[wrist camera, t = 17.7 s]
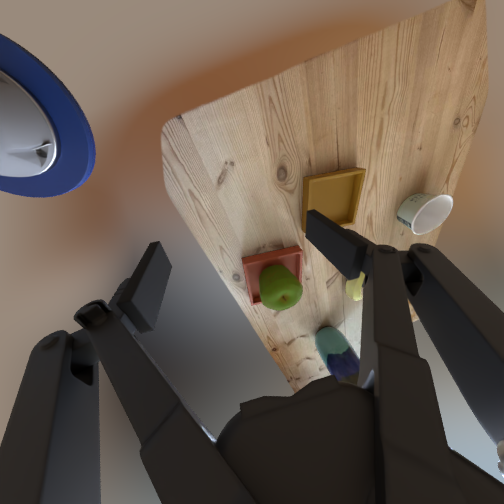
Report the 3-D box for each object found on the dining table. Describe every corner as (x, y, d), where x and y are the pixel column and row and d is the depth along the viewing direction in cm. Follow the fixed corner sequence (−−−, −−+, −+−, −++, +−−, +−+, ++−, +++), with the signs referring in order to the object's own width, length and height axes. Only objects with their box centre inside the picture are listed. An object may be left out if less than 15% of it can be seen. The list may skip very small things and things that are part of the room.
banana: (346, 307, 64) (373, 258, 57) (334, 297, 68) (357, 250, 61) (365, 302, 71) (392, 257, 64) (353, 293, 75) (376, 251, 68)
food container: (429, 179, 51) (455, 184, 46) (429, 211, 58) (452, 219, 52) (390, 204, 53) (411, 212, 48) (394, 232, 60) (413, 242, 54)
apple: (246, 274, 55) (254, 302, 45) (279, 252, 53) (294, 276, 43) (267, 294, 62) (278, 322, 52) (297, 275, 60) (313, 300, 50)
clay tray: (249, 298, 62) (251, 305, 59) (241, 257, 52) (243, 264, 49) (297, 286, 64) (301, 293, 61) (298, 245, 54) (302, 250, 51)
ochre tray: (301, 229, 51) (306, 234, 49) (303, 177, 43) (309, 179, 41) (347, 219, 53) (354, 224, 50) (356, 167, 45) (366, 169, 42)
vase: (307, 331, 81) (353, 421, 55) (335, 318, 80) (395, 403, 54) (314, 344, 89) (357, 428, 63) (339, 332, 88) (394, 413, 62)
